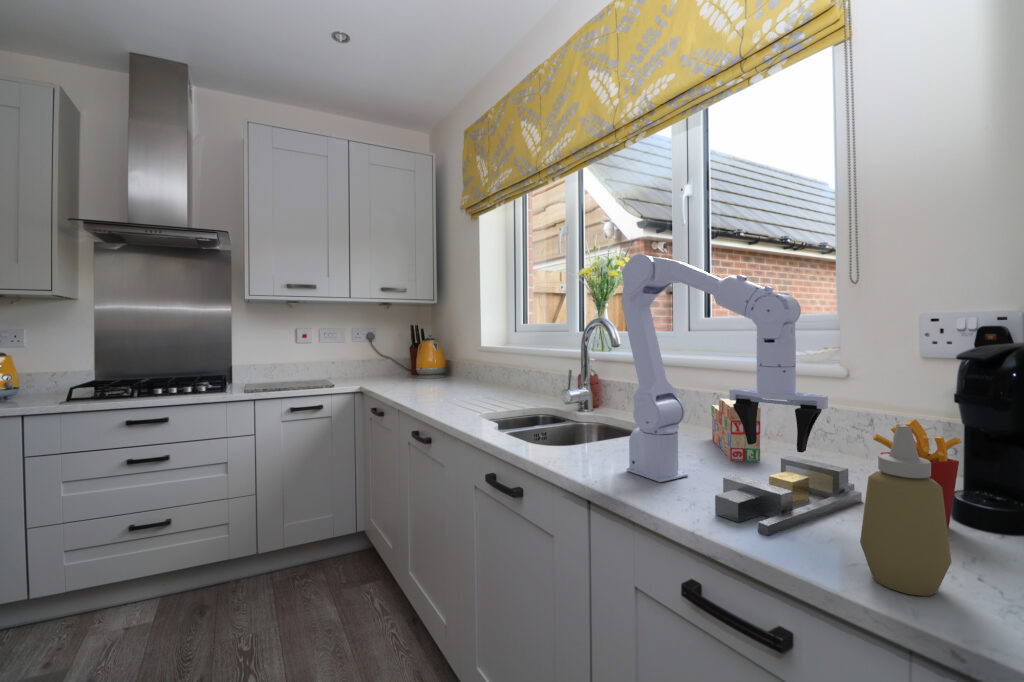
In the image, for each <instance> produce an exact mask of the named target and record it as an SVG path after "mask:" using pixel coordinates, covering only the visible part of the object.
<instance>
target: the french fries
mask: <svg viewBox="0 0 1024 682" xmlns="http://www.w3.org/2000/svg"><path fill="white" fill-rule="evenodd" d="M904 424H905V425H903V424H899V423H898V424H897V423H896V425H895V427H892V428H891V429H890V431H892V432H893V437H892V439H893V440H894V436H895V433H896V429H897V426H909V427H911V430H912V434H913V437H915V438H914V441H915V445H916V449H917V452H918V456H919V457H920V458H924V459H927V460H929V461H930V462H931V476H930V477H928V478H930V479H933V480H934V481H936V482H937V483H938V484H939V485H940V486H941V487H942V491H943V499H944V507H945V514H946V522H947V527H948V528H949V527H950V522H951V516H952V511H953V503H954V499H955V497H954V496H955V491H956V485H957V484H956V483H957V477H958V472H959V465H960V461H959V460H956V459H953V458H949V457H948V451H949V449H951V448H953V447H954V446H957V445H959V444H961V443H962V440H961V439H960V438H958V437H953V438H951V439H948V440H947V441H945V437H944V436H935V437H934V442H935V445H936V448H937V449H936V451H935V452H933V453H930V451H931V449H930V441H929V440H930V438H929V437H928V435H927V432H926V430H925V429H924V428H923V426H922V425H921V423H919V422H918V420H917V419H915V418H914V419H910V420H909V421H908V422H905V423H904ZM872 440H873V441H874V442H877V443H880V444H881V445H883V446H884V447H887V448H888V449H890V450H891V447H892V443H893V441H892V440H889V439H888V438H886V437H883V436H881V435H880V434H877V433H876V434H875V435H874V436H872ZM881 454H890V451H887V452H886V451H885V452H880V455H881Z"/></svg>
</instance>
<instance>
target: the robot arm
mask: <svg viewBox="0 0 1024 682" xmlns="http://www.w3.org/2000/svg"><path fill="white" fill-rule="evenodd" d="M621 276H622V281H623V286H622V295H621V302H620V303H621V308H622V312H623V317H624V322H625V326H626V331H627V335H628V339H629V340H628V341H629V344H630V349H631V353H632V357H633V358H632V359H633V362H634V366H635V372H636V375H637V381H638V387H637V389H636V390H635V391H634V392H635V393H633V395H632V398H633V402H634V405H633V406H634V407H633V411H632V416H633V420H634V423H635V424H636V425H637V427H636V428H634V429H633V431H632V432H631V433H630V436H629V440H628V442H629V443H628V447H629V449H628V451H629V452H628V453H629V455H628V456H629V458H628V461H629V462H628V463H629V467H626V471H628V472H629V473H633V474H636V475H638V476H641V477H644V478H647V479H650V480H651V481H652V480H653V481H656V482H659V483H663V482H667V481H672V480H675V479H680V478H684V477H688V476H689V473H687V472H685V471H683V470H679V428H680V427H679V425H680V423H682V422H683V420H684V417H685V415H686V413H685V411H686V410H685V407H684V404H683V402H682V401H681V400H680V399H679V397H678V394H677V390H676V388H675V387H674V386H673V385H672V384H671V383H670V382H669V381H668V380H667V376H666V372H665V368H664V362H663V359H662V358H663V357H662V354H661V350H660V345H659V341H658V337H657V332H656V328H655V323H654V318H653V315H652V311H651V305H652V304H653V302H654V300H655V299H656V298H658V296H659V295H661V294H662V293H663V292H664V291H665V290H666V289H668V287H670V286H671V285H672V284H678V283H681V284H684V285H685V286H689V287H690V288H691V287H692V288H693V289H697V290H699V291H701V292H704V293H707V294H710V295H712V296H713V298H714V302H715V304H716V305H717V306H719V307H722V308H724V309H726V310H729V311H730V312H733V313H735V314H738V315H740V316H743V317H744V318H746V319H749V320H751V321H752V322H753V324H755V326H756V389H754V388H753V389H752V388H729V390H728V391H729V394H728V395H729V398H728V399H729V400H734V401H736V402H735V404H733V407H734V409H735V411H736V413H737V414H738V416H739V418H740V420H741V423H742V425H743V428H744V431H745V434H746V438H747V443H748V444H750V445H752V444H754V443H756V439H757V430H756V420H757V411H758V406H759V404H760V403H764V404H774V405H782V406H783V405H785V406H795V407H798V408H795V409H794V413H795V420H796V431H797V433H796V450H797V453H804V452H806V451H807V447H808V446H807V444H808V441H809V438H810V435H811V432H812V430H813V427H814V425H815V423H816V421H817V420H818V418H819V416H820V414H821V413H822V411H823V410H826V409H828V407H829V404H828V403H829V397H828V395H827V394H826V395H824V394H823V395H822V394H815V393H806V392H797V391H796V390H797V389H796V385H797V383H796V382H797V381H796V380H797V379H796V378H797V377H796V373H797V370H796V367H797V364H796V363H797V360H796V358H797V357H796V356H797V351H796V350H797V345H796V344H797V340H796V324H797V321H798V320H799V318H800V316H801V313H802V312H801V310H802V309H801V305H800V303H799V301H798V300H797V299H796V298H794V297H793V296H791V295H789V294H788V293H786V292H785V293H782V292H781V293H774V292H773V291H774V287H771V286H770V285H765V286H761V285H759V284H756V283H754V282H751V281H749V280H748V277H747V276H745V275H743V274H737V275H736V276H735V275H728V276H726V277H724V278H720V277H718V276H716V275H713V274H711V273H709V272H707V271H706V270H705V271H704V270H702V269H700V268H697V267H696V266H693V265H691V264H688V263H686V262H684V261H679V260H674V259H670V258H667V257H658V256H651V255H646V254H643V253H637V254H634V255H633V256H632V257H630V258H629V259H628V261H627V263H626V264H625V266H624V267H623V269H622V270H621Z"/></svg>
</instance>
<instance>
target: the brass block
mask: <svg viewBox="0 0 1024 682" xmlns="http://www.w3.org/2000/svg"><path fill="white" fill-rule="evenodd" d="M768 484H769V485H772V486H776V487H779V488H783V489H787V490H790V491H793V506H795V505H799V504H801V503H805V502H807V501H810V493H809V477H806V476H802V475H798V474H794V473H790V472H782V473H781V472H779V473H775V474H771V475H769V476H768Z"/></svg>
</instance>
